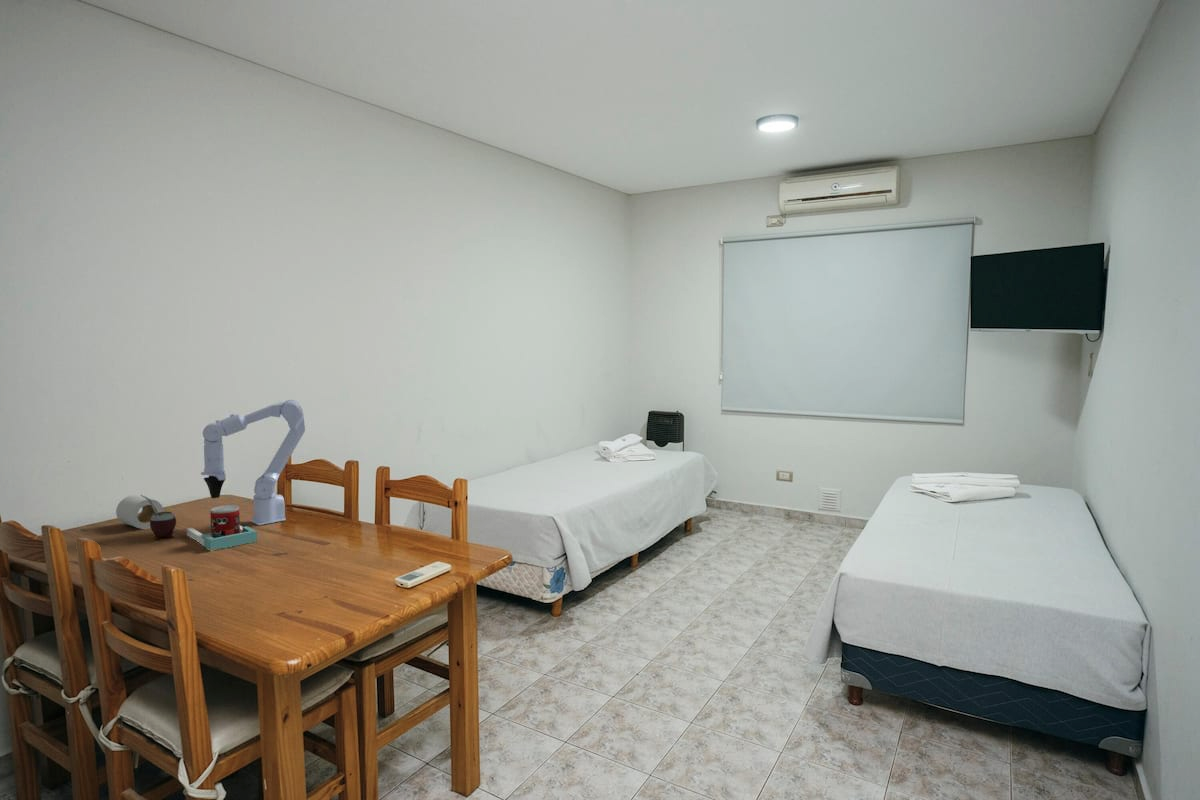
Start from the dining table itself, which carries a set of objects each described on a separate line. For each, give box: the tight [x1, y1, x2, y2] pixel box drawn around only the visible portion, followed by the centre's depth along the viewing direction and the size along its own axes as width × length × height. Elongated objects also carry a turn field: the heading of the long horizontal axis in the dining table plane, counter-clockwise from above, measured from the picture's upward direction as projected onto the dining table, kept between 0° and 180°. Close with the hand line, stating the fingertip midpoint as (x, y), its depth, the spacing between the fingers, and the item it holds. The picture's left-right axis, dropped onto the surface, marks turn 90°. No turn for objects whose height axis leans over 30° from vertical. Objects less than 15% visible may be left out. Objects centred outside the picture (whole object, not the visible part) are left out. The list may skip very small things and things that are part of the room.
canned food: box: [210, 504, 241, 538], centre depth 212 cm, size 8×8×11 cm
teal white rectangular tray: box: [186, 525, 258, 550], centre depth 215 cm, size 14×22×4 cm, turn 48°
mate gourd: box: [140, 494, 177, 542], centre depth 214 cm, size 8×8×15 cm
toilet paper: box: [115, 494, 164, 530], centre depth 227 cm, size 10×10×10 cm
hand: (215, 497), depth 228 cm, fingers closed
